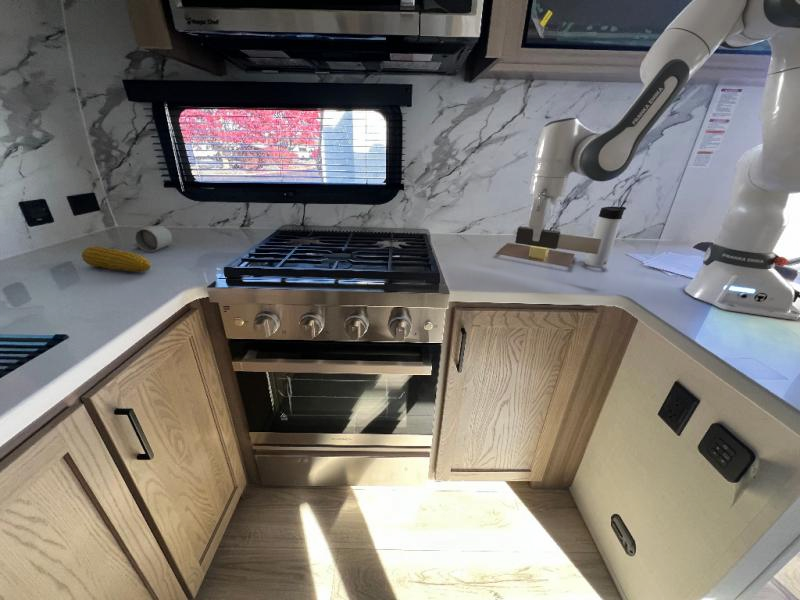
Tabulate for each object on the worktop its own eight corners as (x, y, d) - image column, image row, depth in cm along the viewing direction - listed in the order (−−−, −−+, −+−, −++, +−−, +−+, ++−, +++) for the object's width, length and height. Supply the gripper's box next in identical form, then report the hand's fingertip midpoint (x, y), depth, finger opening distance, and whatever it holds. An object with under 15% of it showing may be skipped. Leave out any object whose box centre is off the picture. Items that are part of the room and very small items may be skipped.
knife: (597, 253, 88) (602, 236, 86) (597, 255, 86) (601, 238, 84) (517, 241, 98) (519, 226, 96) (515, 243, 95) (517, 227, 94)
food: (82, 268, 94) (73, 248, 91) (102, 262, 99) (94, 243, 96) (143, 276, 90) (137, 255, 88) (161, 269, 95) (155, 249, 93)
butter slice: (545, 257, 114) (547, 247, 112) (543, 259, 111) (546, 249, 110) (530, 254, 116) (532, 244, 114) (528, 256, 113) (530, 246, 112)
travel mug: (609, 272, 106) (630, 208, 97) (587, 270, 107) (605, 207, 99) (602, 266, 112) (621, 205, 103) (581, 264, 113) (598, 204, 104)
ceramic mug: (176, 245, 116) (170, 223, 113) (161, 252, 109) (153, 229, 105) (147, 244, 116) (140, 222, 113) (129, 251, 109) (121, 228, 106)
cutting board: (573, 257, 119) (574, 253, 118) (569, 271, 105) (570, 267, 105) (506, 246, 129) (507, 242, 129) (494, 257, 116) (495, 253, 115)
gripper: (555, 193, 78) (543, 249, 84) (564, 185, 94) (553, 233, 100) (527, 190, 81) (517, 245, 87) (541, 183, 97) (532, 230, 103)
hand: (537, 239), depth 93 cm, fingers closed on knife, 2 cm apart
